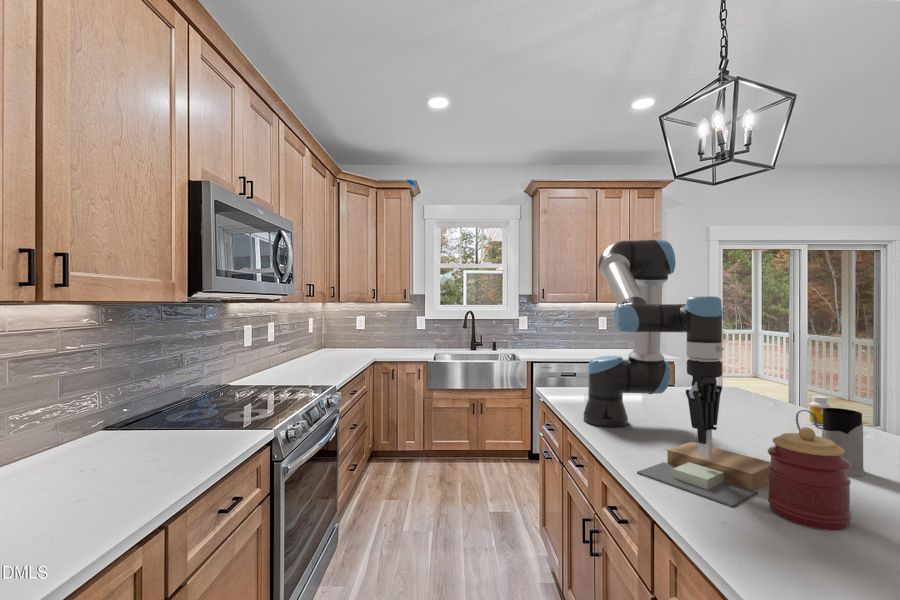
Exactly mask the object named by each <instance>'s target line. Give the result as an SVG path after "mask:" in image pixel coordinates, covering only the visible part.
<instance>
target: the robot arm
mask: <svg viewBox="0 0 900 600" xmlns="http://www.w3.org/2000/svg"><path fill="white" fill-rule="evenodd" d="M675 268H676V255H675V251H674V248H673V246H672V244H671V243H670V242H669V241H667V240H661V239H647V240H646V239H644V240H643V239H642V240H620V241H616V242H614V243H612V244H611V245H608V247H606V248H605V249H604V250H603V252H601V255H600V257H599V260H598V269H599V272H600V275H601V276H602V277H603V278H604V279H605V280H607V283H608V287H609V289H610V291H611V293H612V296H613V298H614V300H615V304H616V306H615V308H614V311H613V321H614V327H615V329H616V330H617V331H618V332H627V333H633V349H632V351H630V352H629V353H628V359H624V358H623V357H622V356H621V355H603V356H597V357H593V358H591V359H590V360H589V362H588V367H587V368H588V369H587V374H588V376H587V377H588V379H587V380H588V399H587V401H586V405H585V409H584V412H583V421H584V422H585V423H586V424H590V425H593V426H597V427H604V426H605V427H607V428H609V427H610V428H618V427H625V426H628V423H629V417H628V413H627V411H626V407H625V405H624V399H623V394H645V395H646V394H648V395H654V394H656V395H657V394H660V395H661V394H663V393H665V391H666V390H667V389H668V387H669V384H670V379H671V371H670V369H671V367H670V364H669V362H668V361H666V360H665V356H664V355H663V353H661V334H662V333H686V357H687V358H688V359H687V360H686V374H687V375H689V376H691V377H692V380H691V389H686V390H685V395H686V398H687V401H688V403H687V404H688V408H689V410H688V411H689V417H690V423H691V427H692V428H693V429H696V431H697V432H696V433H697V435H696V438H697V441H696V443H697V455H699V456H703V457H706V458H711V457H712V447H713V434H712V433H713V430H714V431H717V429H718V427H717V425H718V421H719V420H718V419H719V410H720V401H721V394H722V391H723V386H722V385H718V384H717V383H718V380H717V378H721V377H722V376H723V362H722V361H721V359H722V358H723V351H724V350H725V349H724V347H723V313H724V311H723V308H722V307H723V304H722V299H721V298H720V297H719V296H688V297H687V299H686V303H679V304H678V303H676V304H675V303H674V304H671V303H669V304H663V288H664V287H663V285H664V284H665V283H666V282H667V281H668V280H669V276H670V275H672V274H673V273H674V272H675Z"/></svg>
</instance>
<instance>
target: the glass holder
mask: <svg viewBox="0 0 900 600" xmlns="http://www.w3.org/2000/svg"><path fill="white" fill-rule="evenodd" d="M801 412H807V413H808V414H809V415H810V414H811V415H812V416H813V418H814V424H815V425H814V424H813V425H814V426H815V427H816V429H818V430H821V437H822V438H826V439H829V440H831V441H833V442H834V443H835V444H836V445H838V446H840V447H841V448H843V449H844V451H845V453H844V454H843V455H842V456H843V458H845V459H846V460H848V461H849V462H850V464H851V466H850V468H848V469H847V477H857V478H858V477H865V476H866V475H867V474H866V471H865V469H864V423H863V414H862V412H860V411H857V410H854V409H853V410H852V409H849V408H847V409H846V408H838V407H830V408H823V426H819V425H817V421H816V417H815V415H814V414H813V413H812V412H811V411H810V410H808V409H801V410H799V411H797V413H796V415H795V423H796V427H797V429H798V431H799V430H800V429H801V427H800V423H799V414H800V413H801Z"/></svg>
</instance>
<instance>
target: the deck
mask: <svg viewBox="0 0 900 600" xmlns="http://www.w3.org/2000/svg"><path fill="white" fill-rule="evenodd" d="M666 458H667V463H668V464H672V465H675V466H681V465H683V464H686V463H689V462H692V463H695V464H699V465H702V466H706V467H709V468H712V469H716V470H719V471H722V472H724V481H726V482H729V483H732V484H735V485H738V486H741V487H745V488H748V489H751V490H754V491H757V490H759V489H762V488H763V487H765V486H766V484H767V485H769V484H768V483H769V469H768V464H769V463H770V462H771V461H767V460H764V459H760V458H755V457H752V456H748V455H744V454H740V453H736V452H733V451H729V450H725V449H723V448H722V449H720V448H717V447H713V446H712V457H711V458H706V457H703V456H699V455H697V442H694V441H689V442H686V443H683V444H679V445H678V446H675V447H674V446H673V447H670V448H668V449H667V457H666Z"/></svg>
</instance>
